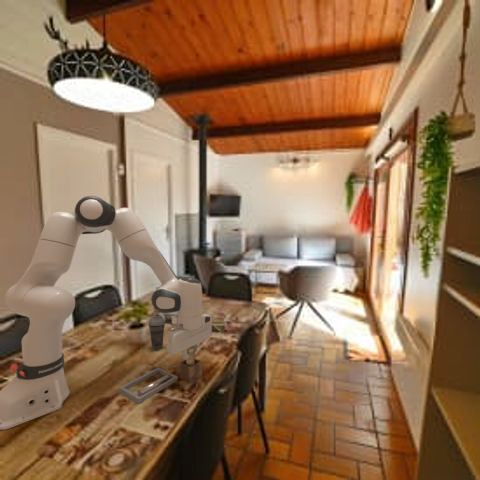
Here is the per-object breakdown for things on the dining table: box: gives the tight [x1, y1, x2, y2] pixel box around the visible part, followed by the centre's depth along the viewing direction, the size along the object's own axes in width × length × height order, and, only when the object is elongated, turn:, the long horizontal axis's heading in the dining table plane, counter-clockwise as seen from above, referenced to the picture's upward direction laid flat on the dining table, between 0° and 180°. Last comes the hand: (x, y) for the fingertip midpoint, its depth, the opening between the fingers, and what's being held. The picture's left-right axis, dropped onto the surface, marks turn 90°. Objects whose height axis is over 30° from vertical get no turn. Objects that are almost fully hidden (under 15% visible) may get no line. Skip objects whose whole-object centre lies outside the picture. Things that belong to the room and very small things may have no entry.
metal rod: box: [137, 375, 170, 397], centre depth 110 cm, size 12×2×2 cm, turn 144°
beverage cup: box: [148, 308, 166, 351], centre depth 142 cm, size 7×7×20 cm
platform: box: [210, 318, 228, 333], centre depth 163 cm, size 12×18×7 cm, turn 85°
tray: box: [118, 367, 179, 405], centre depth 112 cm, size 17×11×2 cm, turn 144°
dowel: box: [186, 346, 195, 367], centre depth 117 cm, size 3×3×11 cm
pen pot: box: [178, 357, 203, 384], centre depth 118 cm, size 6×6×6 cm
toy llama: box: [151, 284, 178, 326], centre depth 175 cm, size 8×18×20 cm, turn 71°
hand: (190, 356), depth 117 cm, fingers closed on dowel, 3 cm apart
